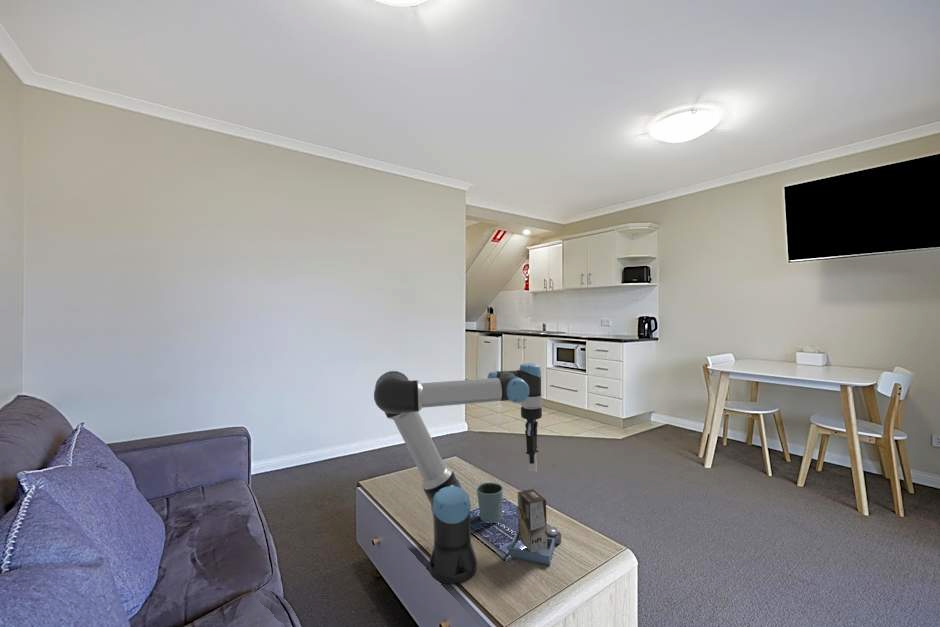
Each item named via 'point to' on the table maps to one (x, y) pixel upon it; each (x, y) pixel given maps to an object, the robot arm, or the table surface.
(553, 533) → the crank
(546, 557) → the tray
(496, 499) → the green cup
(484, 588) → the table surface
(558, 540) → the crank base
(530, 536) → the coffee box
